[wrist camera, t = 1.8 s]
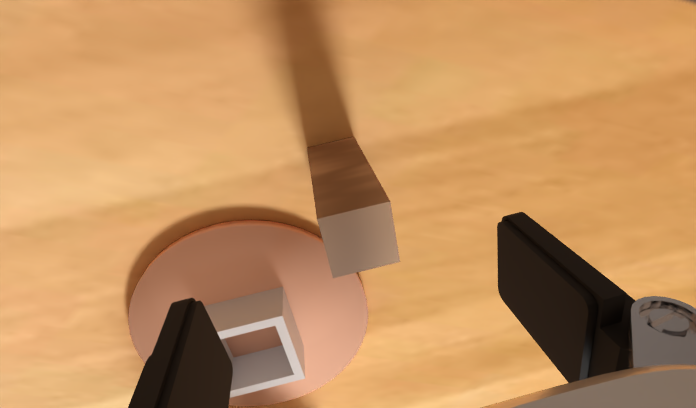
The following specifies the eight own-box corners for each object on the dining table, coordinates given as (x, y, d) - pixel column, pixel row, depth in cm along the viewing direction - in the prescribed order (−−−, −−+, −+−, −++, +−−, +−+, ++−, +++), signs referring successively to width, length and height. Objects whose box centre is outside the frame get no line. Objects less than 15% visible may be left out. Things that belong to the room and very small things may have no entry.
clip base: (342, 193, 24) (350, 220, 20) (381, 368, 31) (392, 408, 28) (86, 255, 23) (53, 292, 20) (187, 418, 30) (175, 465, 27)
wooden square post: (353, 136, 22) (390, 201, 14) (362, 179, 23) (399, 261, 15) (307, 147, 22) (316, 219, 14) (318, 190, 23) (333, 278, 15)
